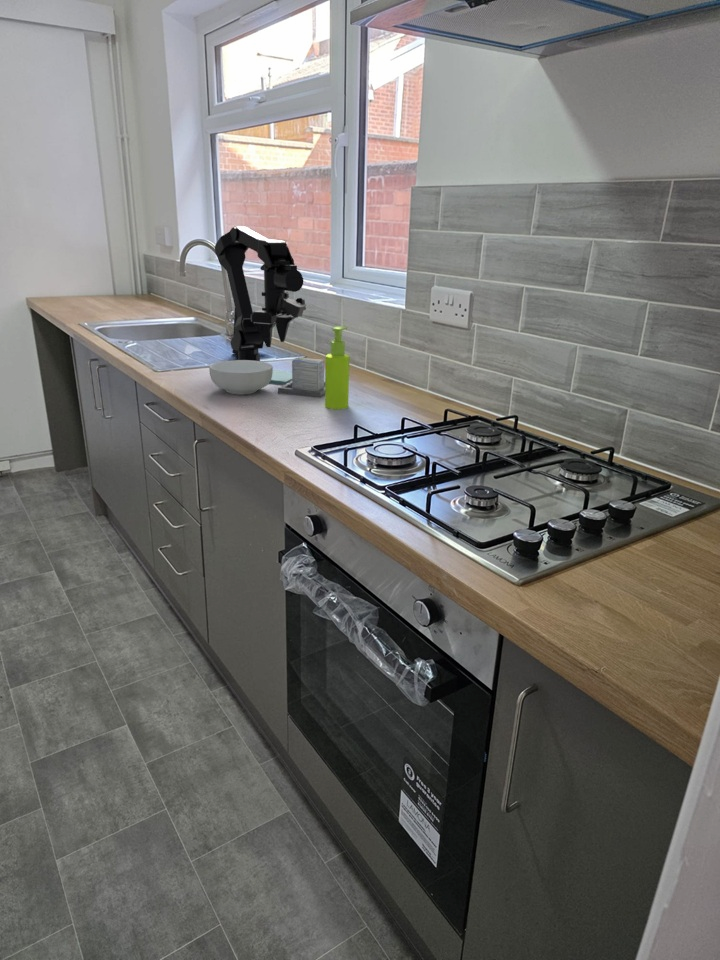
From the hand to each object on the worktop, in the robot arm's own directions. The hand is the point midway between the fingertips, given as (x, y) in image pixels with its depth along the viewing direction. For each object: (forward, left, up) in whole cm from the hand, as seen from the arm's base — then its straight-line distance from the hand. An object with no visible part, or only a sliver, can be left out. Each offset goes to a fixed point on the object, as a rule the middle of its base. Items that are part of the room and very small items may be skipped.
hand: (275, 344), depth 187 cm
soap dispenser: (+27, -20, -10) cm, 35 cm away
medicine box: (+14, -9, -10) cm, 19 cm away
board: (0, 0, -10) cm, 10 cm away
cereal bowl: (-2, -17, -10) cm, 20 cm away
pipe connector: (-24, +29, -10) cm, 39 cm away
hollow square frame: (+14, -9, -10) cm, 19 cm away
